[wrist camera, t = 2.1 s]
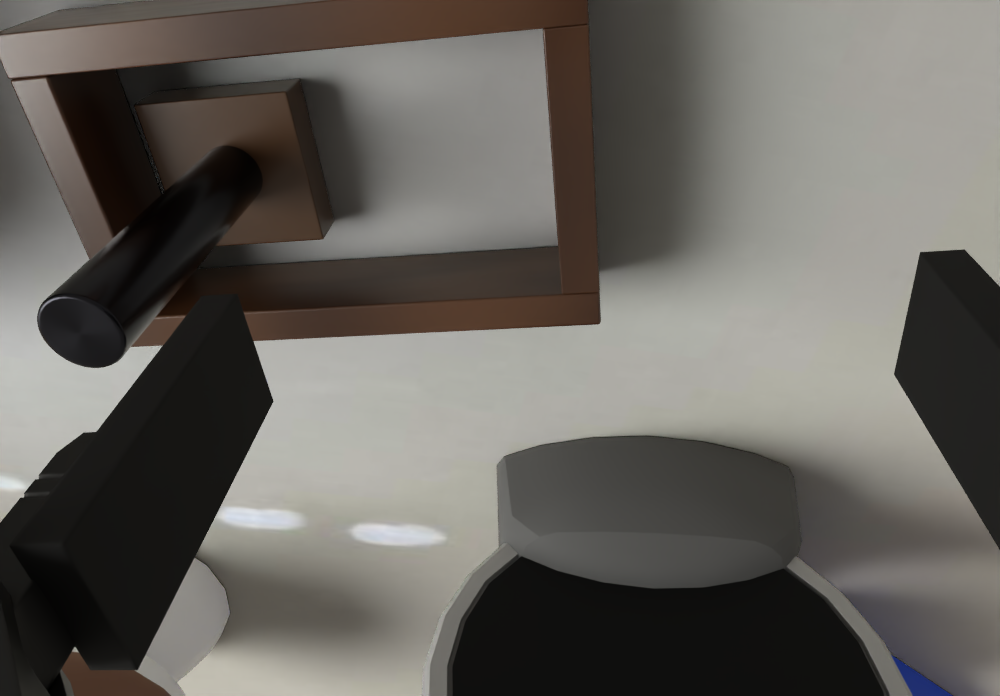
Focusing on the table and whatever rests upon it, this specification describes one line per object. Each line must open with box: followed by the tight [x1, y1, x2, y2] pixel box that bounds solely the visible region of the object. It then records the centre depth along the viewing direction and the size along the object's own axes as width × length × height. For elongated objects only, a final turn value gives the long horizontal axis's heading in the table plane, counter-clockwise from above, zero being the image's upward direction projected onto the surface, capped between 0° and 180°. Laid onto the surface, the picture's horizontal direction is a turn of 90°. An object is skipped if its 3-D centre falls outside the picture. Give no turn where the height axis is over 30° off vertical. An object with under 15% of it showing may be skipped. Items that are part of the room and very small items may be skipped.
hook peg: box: [37, 79, 334, 368], centre depth 22 cm, size 5×5×11 cm
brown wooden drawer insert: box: [0, 0, 601, 347], centre depth 25 cm, size 16×10×4 cm, turn 96°
